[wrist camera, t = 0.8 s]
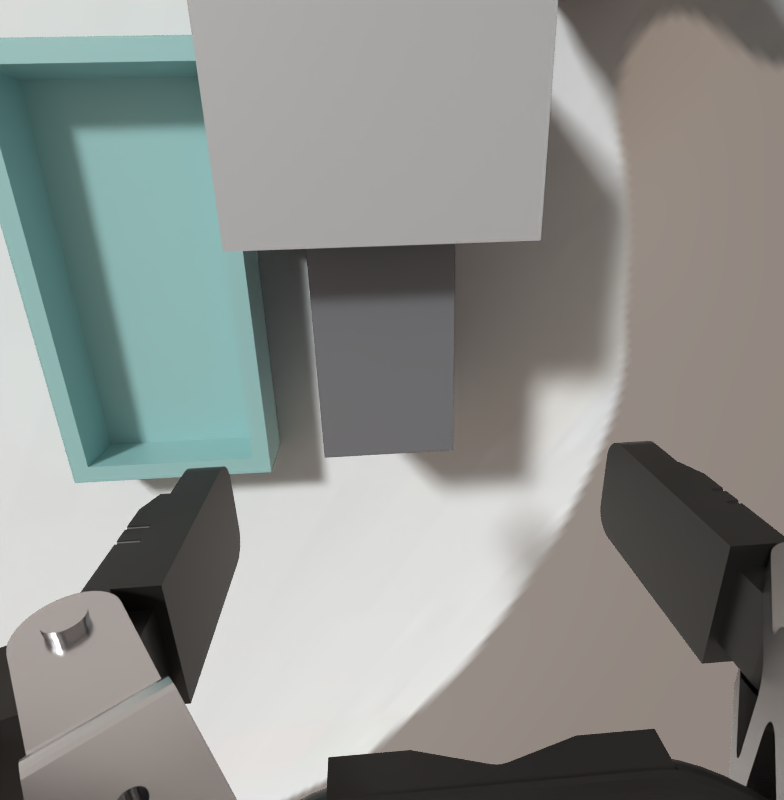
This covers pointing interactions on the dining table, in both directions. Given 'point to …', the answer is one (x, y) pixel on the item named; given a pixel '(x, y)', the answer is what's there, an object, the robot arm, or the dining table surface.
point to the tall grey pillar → (384, 347)
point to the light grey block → (375, 119)
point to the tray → (130, 260)
